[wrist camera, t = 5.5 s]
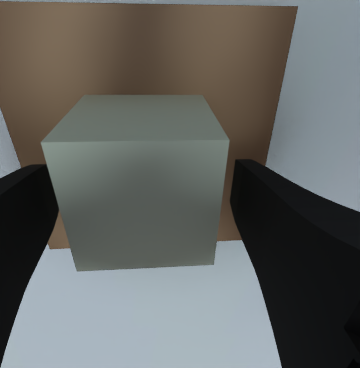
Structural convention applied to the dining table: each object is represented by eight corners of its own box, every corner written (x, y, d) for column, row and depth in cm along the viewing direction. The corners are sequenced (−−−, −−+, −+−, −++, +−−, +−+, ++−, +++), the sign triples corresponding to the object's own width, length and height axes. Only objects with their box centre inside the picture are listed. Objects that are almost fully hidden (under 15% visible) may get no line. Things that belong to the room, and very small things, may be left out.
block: (202, 94, 11) (229, 140, 7) (196, 190, 14) (213, 264, 10) (84, 94, 11) (40, 142, 7) (100, 193, 14) (76, 271, 10)
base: (277, 7, 12) (298, 6, 10) (241, 218, 18) (249, 239, 16) (-7, 3, 11) (-38, 0, 9) (60, 226, 17) (49, 249, 16)
